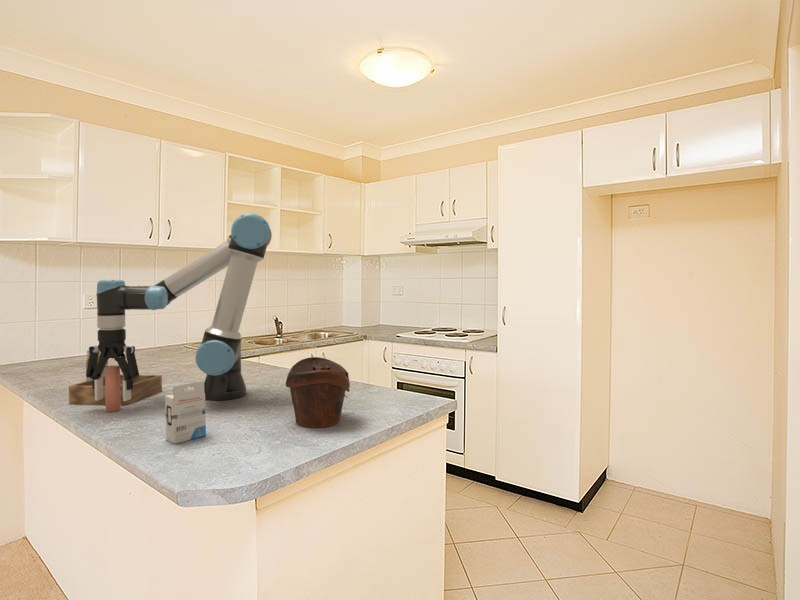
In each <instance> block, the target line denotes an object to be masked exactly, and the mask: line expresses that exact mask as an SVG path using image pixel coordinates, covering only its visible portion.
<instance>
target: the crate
mask: <svg viewBox="0 0 800 600" xmlns="http://www.w3.org/2000/svg"><path fill="white" fill-rule="evenodd" d="M101 378H103V399H100V400H95V389H93V380H89V381H86V380H85V381H83V382H79V383H75V384H71V385H68V405H90V406H91V405H95V406H97V405H99V406H101V405H103V406H106V393H105V376H103V377H101ZM99 379H100V378H99ZM124 379H125V377H124V375H123V374H120V398H121V406H128V405H131V404H133V403H135V402H138V401H140V400H144V399H145V398H148V397H151V396H153V395H156V394H158V393H161V392H163V376H162V375H161V374H139V376H138V377H136V378H134V379H133V389H131V399H130V400H127V401H123V380H124Z"/></svg>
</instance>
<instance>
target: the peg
mask: <svg viewBox="0 0 800 600" xmlns="http://www.w3.org/2000/svg"><path fill="white" fill-rule="evenodd" d="M120 375H121V369H120V367H119V365H118V364H117V365H108V366H106V367H105V393H106V405H105V412H106V413H114V412H116V413H117V412H119V411H121V409H122V407H121V406H122V405H121V398H120Z"/></svg>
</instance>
